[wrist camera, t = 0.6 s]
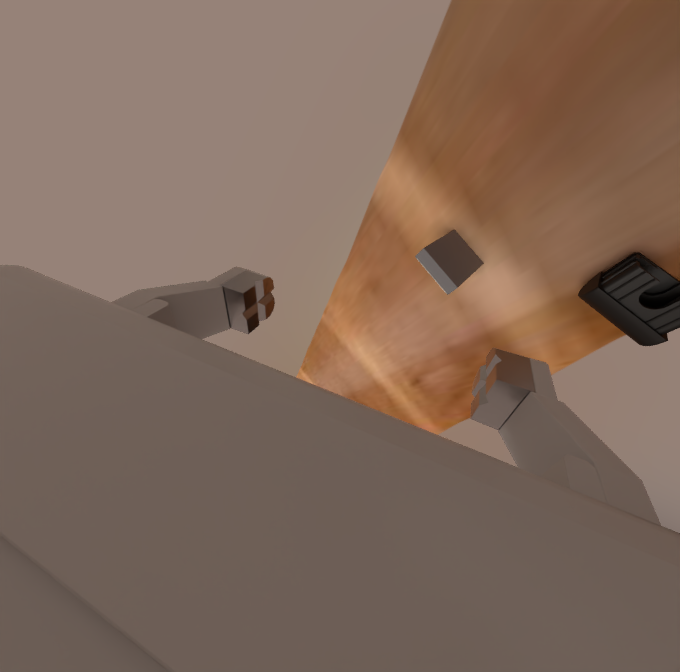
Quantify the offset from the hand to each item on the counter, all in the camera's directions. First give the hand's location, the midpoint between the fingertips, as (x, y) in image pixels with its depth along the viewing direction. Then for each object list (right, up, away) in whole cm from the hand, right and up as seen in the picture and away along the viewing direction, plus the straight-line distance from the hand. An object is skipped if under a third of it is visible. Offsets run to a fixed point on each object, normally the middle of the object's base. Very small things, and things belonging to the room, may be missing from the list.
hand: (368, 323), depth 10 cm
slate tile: (+22, +15, +41) cm, 49 cm away
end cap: (+40, +6, +29) cm, 50 cm away
